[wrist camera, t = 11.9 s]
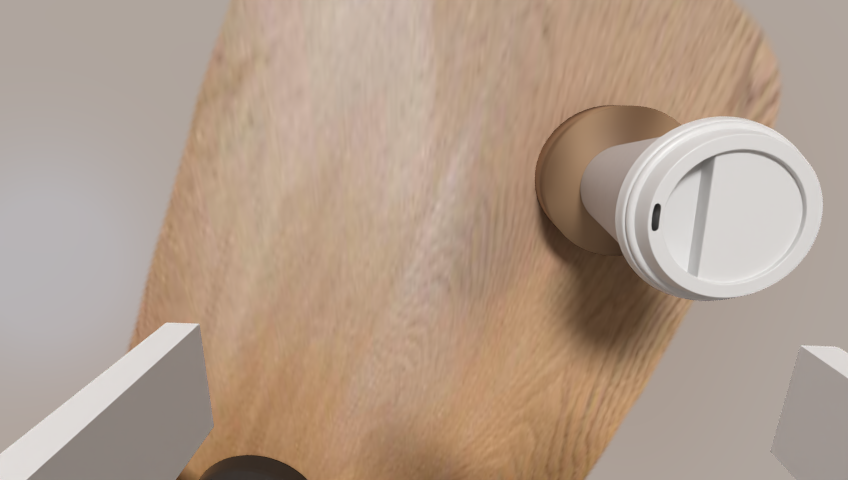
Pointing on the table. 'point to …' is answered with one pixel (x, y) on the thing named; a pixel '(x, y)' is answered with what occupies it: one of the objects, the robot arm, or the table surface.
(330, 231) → the table surface
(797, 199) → the coffee cup
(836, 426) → the robot arm
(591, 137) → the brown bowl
